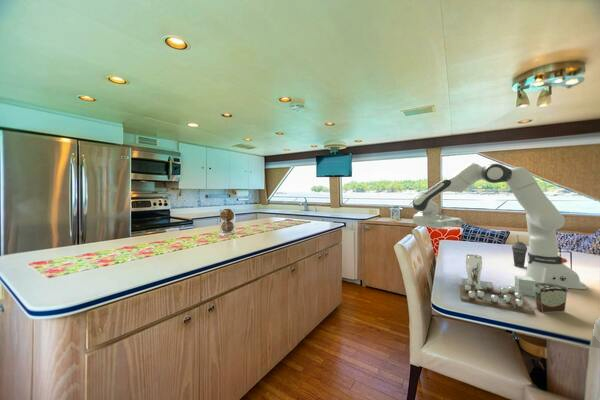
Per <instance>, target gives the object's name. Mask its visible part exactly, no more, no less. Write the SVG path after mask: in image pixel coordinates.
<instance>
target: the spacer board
mask: <svg viewBox="0 0 600 400" xmlns="http://www.w3.org/2000/svg"><path fill="white" fill-rule="evenodd" d="M459 290H460V292H459V293H460V301H462V302H465V303H473V304H475V305H476V304H477V305H481V306H482V305H483V306H487V307H492V308H499V309H504V310H508V311H515V312H519V313H526V314H530V315H534V310H533V308H532V306H530V304H529V302H528V300H527V299H526V297H525V295H522V300H523V309H520V308H517V307H515V295H511V294H509V293H508V291H507V295H509V296H511V304H506V303H504V302H501V301H500V302H499V301H498V304H493V303H491V300H489V299H484V300H483V299H478V298H477V293H476V292H475V290H476V287H473V288H471V291H473V292H475V300H471V299H469V293H466V292H465V285H463V284H459ZM482 291H483V292H484V294H490V295H497V296H500V290H497V289H495V290H493V291H488V290H487V289H486V288H482Z"/></svg>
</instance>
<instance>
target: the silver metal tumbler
mask: <svg viewBox="0 0 600 400" xmlns="http://www.w3.org/2000/svg"><path fill="white" fill-rule="evenodd" d="M482 258H483V257H482V256H481V255H478V254H466V256H465V269H466V275H467V277H466V279H467V280H471V281H473V286H475V287H476V284H481V283H480V281H481V274H482V269H483V259H482Z"/></svg>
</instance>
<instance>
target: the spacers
mask: <svg viewBox="0 0 600 400" xmlns="http://www.w3.org/2000/svg"><path fill="white" fill-rule="evenodd" d="M493 286H494V284H493V283H492V284H491V283H487V290H488V291H493ZM471 288H473V281H471V280H467V285H465V292H466V293H469V299H471V300H475V292H476V296H477V298H478V299H483V300H485V293H484V292H483V291H482V285H481V284H476V290H475V292H473V291H471ZM499 291H500V295H494V294H490V301H491V303H493V304H498V302H499V298H503V303H506V304H511V296H509V295H507V292H508V293H509V294H511V295H515V307H517V308H520V309H523V300H522V294H521V293H517V292H516V290H515V286H507V288H506V287H499Z"/></svg>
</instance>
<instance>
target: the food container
mask: <svg viewBox="0 0 600 400" xmlns="http://www.w3.org/2000/svg"><path fill="white" fill-rule="evenodd" d="M533 290H534V291H535V296H534V297H535V305H536V309H537V311H538V312H540V313H543V314H545V313H546V314H548V313H565V312H566V304H567V297H568V296H567V295H568V293H569V288H567V287H565V286H561V285H556V284H551V283H537V282H536V283H535V285H534V286H533Z"/></svg>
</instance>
